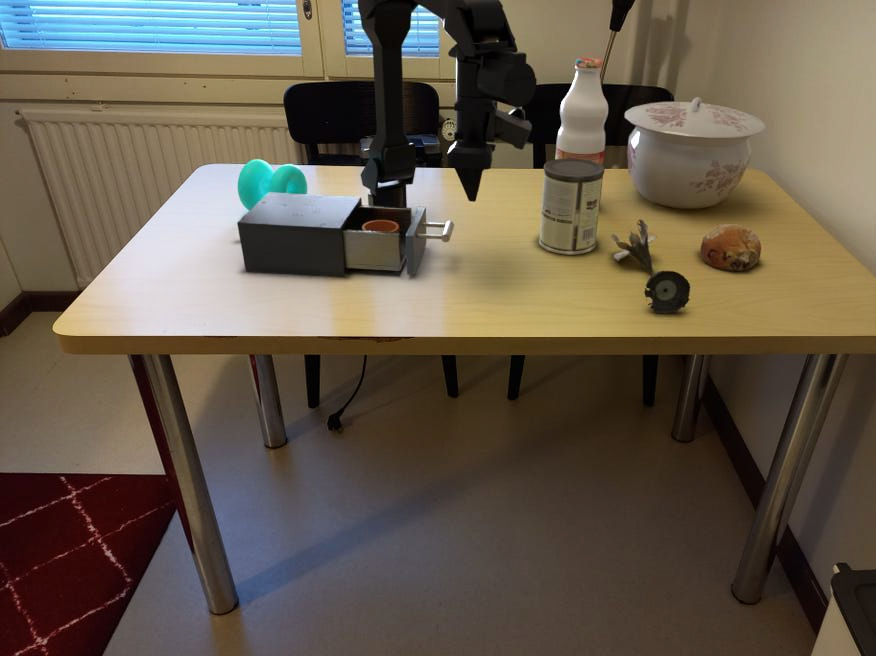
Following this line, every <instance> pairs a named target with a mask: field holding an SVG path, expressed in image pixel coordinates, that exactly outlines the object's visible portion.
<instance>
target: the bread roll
mask: <svg viewBox="0 0 876 656" xmlns="http://www.w3.org/2000/svg"><path fill="white" fill-rule="evenodd" d="M700 245H701V246H700V257H701V258H702V261H703V262H704V263H706V264H707V265H709V266H711V267H713V268H716V269H719V270H725V271H731V272H734V271H736V272H740V271H745V270H749V269H751V268H752V267H753V266H755V265H756V263H758V262H760V258H761V254H762V244H761V241H760V238H759V236H758V235H757V233H756V232H754V231H752V230H751V229H750V228H748V227H745V226H744V225H740V224H730V223H729V224H727V223H726V224H718V226H716V227H715V228H713V229H711V230H710V231H709V232H708V233H707V234H705V235H704V236H703V238H702V241H701V244H700Z"/></svg>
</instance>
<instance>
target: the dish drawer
mask: <svg viewBox="0 0 876 656" xmlns="http://www.w3.org/2000/svg"><path fill="white" fill-rule="evenodd" d="M412 211H413V210H412V207H407V208H405V207H386V206H369V205H368V204H367V205H364V204H362V205H358V207H357V208H356V210H355V211H354V213H353V214H352V216H351V217H350V219H349V220H348V222H347V223H346V225H345V226H344V228H343V229H342V241H343V252H344V263H345V268H350V269H360V270H375V271H377V270H378V271H392V272H393V271H394V272H401V270H402V267H403V265H404V263H405V261H406V274H407V275H408V276H409V275H410V276H414V275H416V272H417V270H418V266H419V264H420V261H421V258H422V256H423V253H424V250H425V249H426V245H427V242H428V241H427V239H428V240H441V241H442V242H443V243H449V242H450V241H451V237H452V234H453V231H454V227H455V223H454V222H453V221H452V220H447V221H446V222H427V207H426V206H425V205H419V206H418V207H417V210H416V212H415V214H414V216H412V215H413V214H412ZM412 217H413V218H412ZM375 220H389V221H393V222H396V223H397V224H398V225H399V233H396V232H378V231H362V226H363V225H364V224H365V223H367V222H370V221H375ZM427 228H442V229H443V231H442V234H432V233H427Z"/></svg>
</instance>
